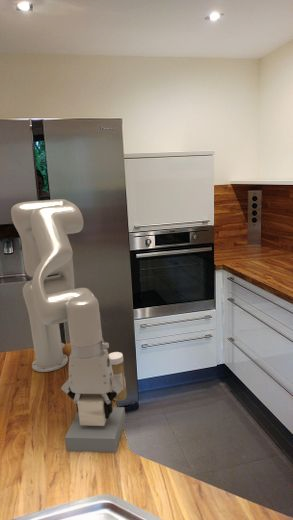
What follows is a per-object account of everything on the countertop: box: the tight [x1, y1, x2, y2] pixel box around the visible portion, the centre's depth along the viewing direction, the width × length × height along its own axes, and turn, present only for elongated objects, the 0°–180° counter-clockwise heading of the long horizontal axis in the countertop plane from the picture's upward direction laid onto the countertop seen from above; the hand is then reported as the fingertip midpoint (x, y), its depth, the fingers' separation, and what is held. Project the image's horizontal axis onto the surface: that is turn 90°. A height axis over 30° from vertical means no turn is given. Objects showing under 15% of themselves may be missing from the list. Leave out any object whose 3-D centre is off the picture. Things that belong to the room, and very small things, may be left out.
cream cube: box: [77, 394, 107, 426], centre depth 87 cm, size 6×6×6 cm
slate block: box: [64, 406, 126, 453], centre depth 89 cm, size 12×12×4 cm
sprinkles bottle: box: [108, 351, 128, 402], centre depth 103 cm, size 5×5×14 cm
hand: (95, 414), depth 88 cm, fingers closed on cream cube, 6 cm apart
